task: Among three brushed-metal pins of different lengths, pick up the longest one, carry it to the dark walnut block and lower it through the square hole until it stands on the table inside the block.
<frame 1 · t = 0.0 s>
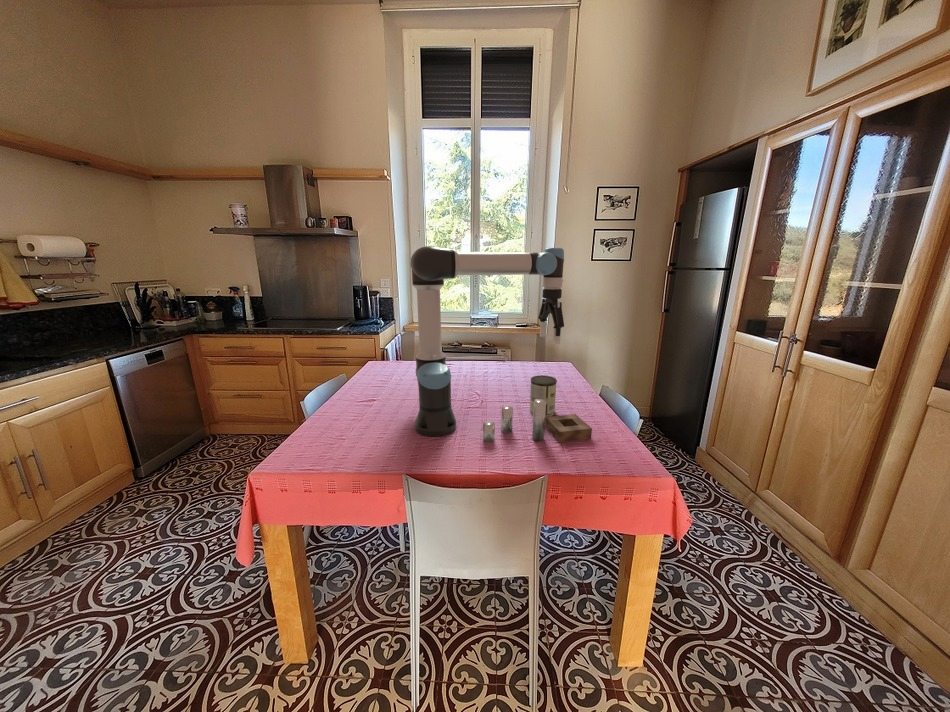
hand: (549, 340, 146), 28 cm above the table, fingers open, 13 cm apart
long pin: (538, 438, 123), on the table
coffee can: (541, 412, 145), on the table
short pin: (488, 439, 123), on the table
medium pin: (506, 430, 129), on the table
hole block: (567, 432, 127), on the table
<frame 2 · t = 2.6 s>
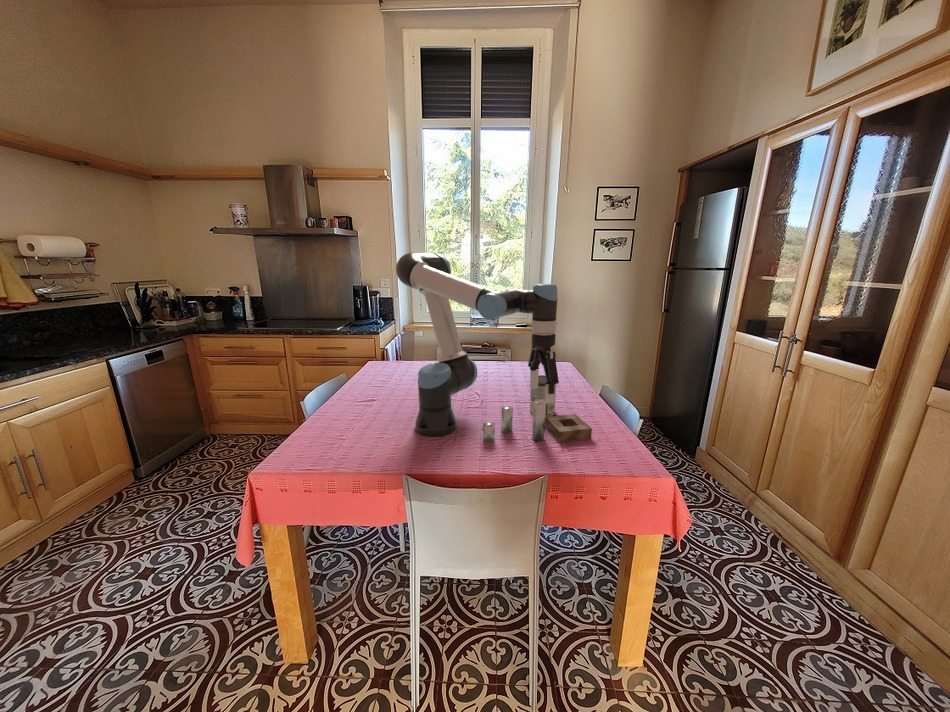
hand: (541, 395, 119), 16 cm above the table, fingers open, 13 cm apart
nothing on the table moved.
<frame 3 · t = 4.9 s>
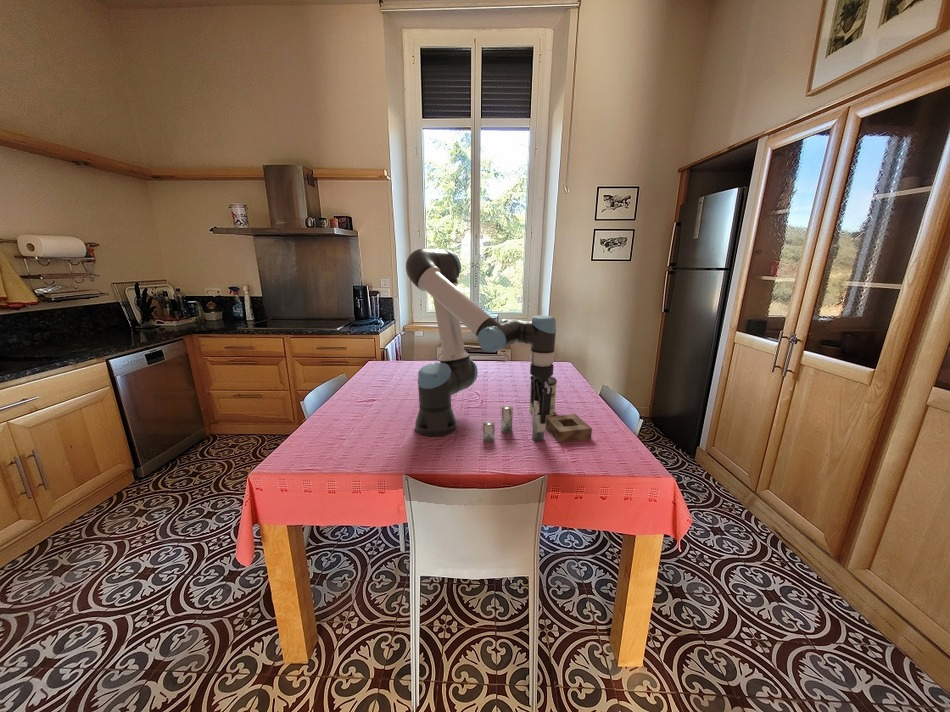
hand: (538, 427, 122), 4 cm above the table, fingers closed on long pin, 4 cm apart
long pin: (538, 438, 123), on the table, touching gripper
everything else where it was.
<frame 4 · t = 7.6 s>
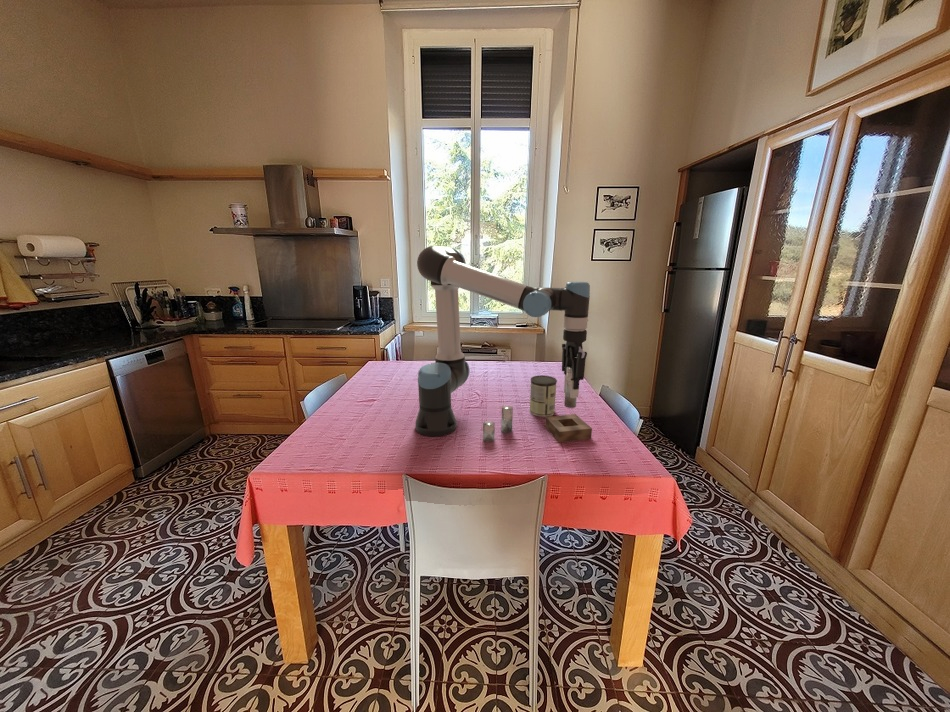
hand: (570, 394, 123), 15 cm above the table, fingers closed on long pin, 4 cm apart
long pin: (570, 405, 124), point 11 cm above the table, touching gripper
everything else where it was.
when the fingers open (5 cm above the table, at t = 10.3 s): long pin stays where it is, resting in hole block.
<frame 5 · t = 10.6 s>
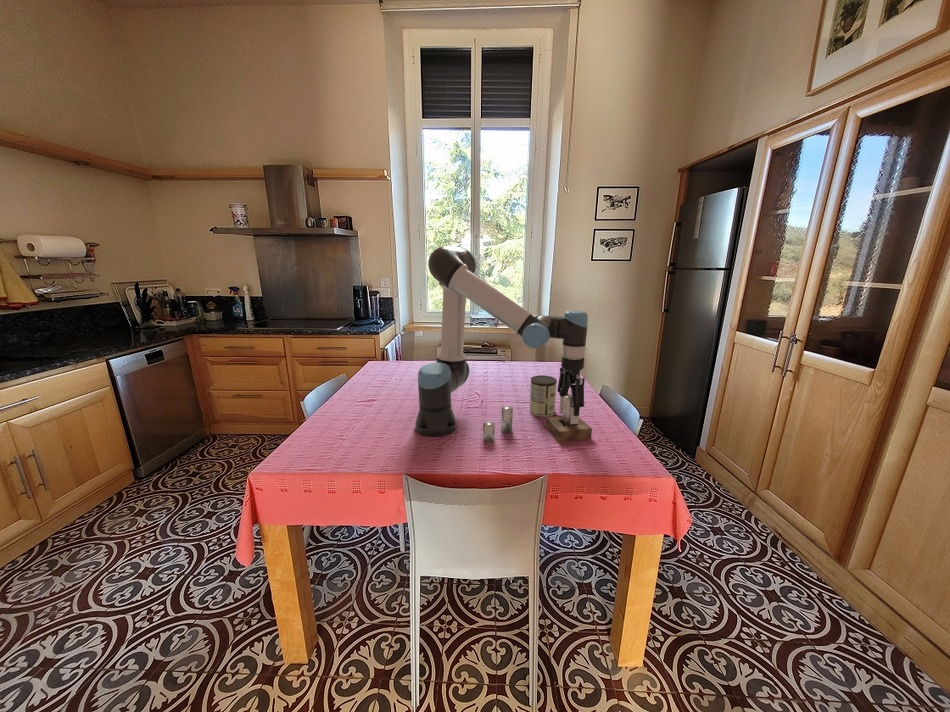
hand: (568, 417, 126), 6 cm above the table, fingers open, 8 cm apart
long pin: (567, 432, 127), resting in hole block
everything else where it was.
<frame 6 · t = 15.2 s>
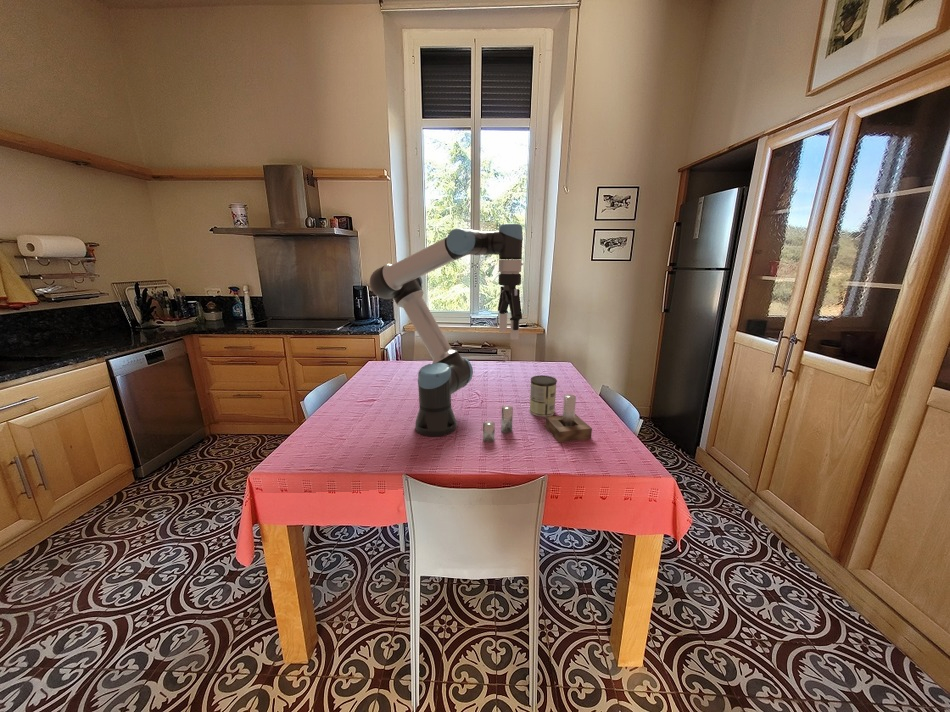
hand: (508, 335, 124), 35 cm above the table, fingers open, 13 cm apart
nothing on the table moved.
at the end: long pin 0.1 cm off-centre on the hole block, point 0.0 cm above the hole block's base; long pin tilted 0°; the gripper is holding nothing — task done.
